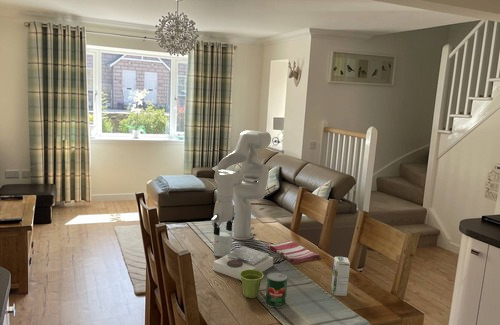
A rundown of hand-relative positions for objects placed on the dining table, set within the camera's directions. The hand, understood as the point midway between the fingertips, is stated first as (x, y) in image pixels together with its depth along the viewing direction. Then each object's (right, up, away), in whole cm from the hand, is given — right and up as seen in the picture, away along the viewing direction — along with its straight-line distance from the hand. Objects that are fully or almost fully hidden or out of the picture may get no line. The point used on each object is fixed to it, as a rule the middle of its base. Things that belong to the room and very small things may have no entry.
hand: (222, 232), depth 202 cm
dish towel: (+35, -12, +10) cm, 38 cm away
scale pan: (+12, -9, -10) cm, 18 cm away
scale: (+10, -14, -12) cm, 21 cm away
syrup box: (+50, -20, -31) cm, 62 cm away
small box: (0, -11, +3) cm, 12 cm away
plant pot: (+13, -19, -37) cm, 43 cm away
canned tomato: (+23, -20, -42) cm, 52 cm away
